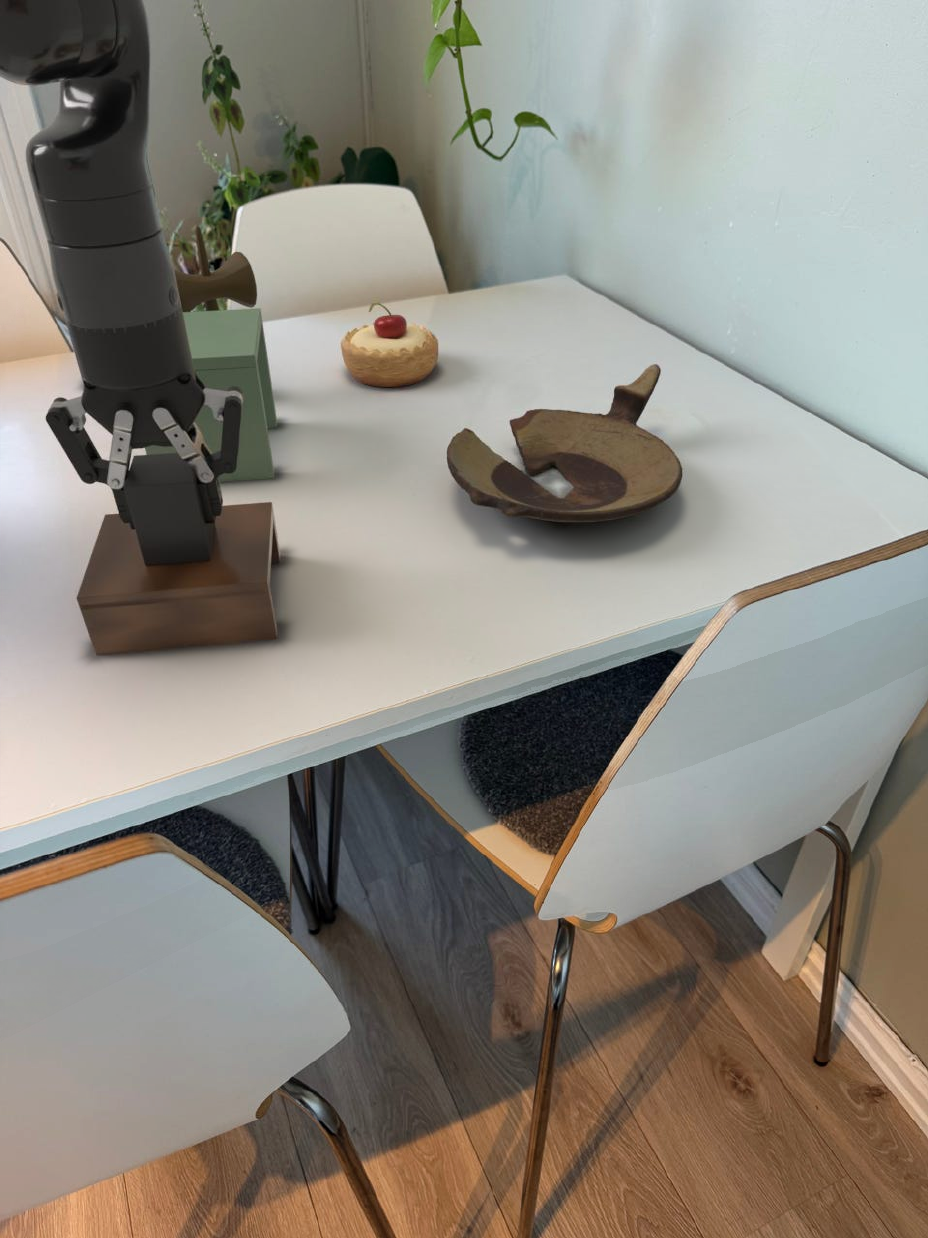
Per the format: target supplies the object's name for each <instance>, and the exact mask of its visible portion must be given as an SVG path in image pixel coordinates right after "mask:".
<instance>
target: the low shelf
mask: <svg viewBox="0 0 928 1238" xmlns="http://www.w3.org/2000/svg"><path fill="white" fill-rule="evenodd" d="M273 506H274V505H273V502H272V501H267V502H254V503H240V504H228V505H222V511H221V515H220V516H216V520H215V532H214V539H213V546H212V552H211V559H210V560H209V561H198V562H185V563H173V564H161V565H149V566H145V563H144V560H143V556H142V553H141V549H140V545H139V542H138V538H137V534H136V531H135V529H133V530H132V529H131V527H130V523H124V522H123V521H122V520H121V518H120V516H119V513H110V514H109V513H108V514H104V516H103V520H102V522H101V525H100V527H99V528H100V529H99V531H98V535H97V537H96V540H95V542H94V546H93V549H92V551H91V554H90V557H89V560H88V563H87V566H86V569H85V572H84V575H83V578H82V580H81V584H80V587H79V590H78V592H77V595H76V601H77V604H78V608H79V610H80V613H81V615H82V619H83V621H84V624H85V627H86V630H87V633H88V636H89V639H90V641H91V644H92V648H93V650H94V653H95V656H103V655H113V654H126V653H133V652H134V653H135V652H136V653H137V652H146V651H157V650H169V649H179V648H180V649H181V648H189V647H190V648H191V647H199V646H200V647H201V646H211V645H212V646H213V645H221V644H223V645H224V644H232V643H233V644H234V643H243V642H255V641H265V640H266V641H267V640H276V639H278V625H277V619H276V613H275V608H274V601H273V595H272V590H271V569H272V564H280V563H281V561H282V560H281V559H282V557H281V556H282V555H281V550H280V543H279V536H278V531H277V530H278V529H277V526H276V524H277V523H276V517H275V512H274V507H273Z"/></svg>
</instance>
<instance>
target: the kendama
mask: <svg viewBox="0 0 928 1238" xmlns="http://www.w3.org/2000/svg"><path fill="white" fill-rule="evenodd" d="M194 232H195V243H196V248H197V256H198V263H199V269H200V273H198V274H190V273H185V272H182V271H180V270H177V269H175V268H174V271H175V276H176V281H177V286H178V291H179V296H180V301H181V306H182V311H183V312H193V310H194V309H195V308H197V307H198V306H200V305H201V304H204V307H205V311H219V310H220V308H219V304H218V300H219V299H227V300H229V301H232V302H233V303H234V302H235V303H237V304H239V305H241V306H244V307H248V308H249V309H253V308H254V307H255V306H256V304H257V301H258V287H257V281H256V276H255V273H254V269H253V267H252V265H251V263H250V261H249V259H248V257H247V256H246V255H245V254H243V253H242V251H234V252H233V253H232V254H231V255H230V256H229V257H228V258H227V259H226V260H225V261H224V262H223V264H222V265H220V267H219V268H217V269H216V270H214V271H211V269H210V263H209V259H208V254H207V251H206V245H205V241H204V237H203V232H202V230H201V227H200V226H199V225H196V226H195V230H194Z"/></svg>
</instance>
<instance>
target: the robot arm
mask: <svg viewBox="0 0 928 1238" xmlns="http://www.w3.org/2000/svg"><path fill="white" fill-rule="evenodd" d="M0 78H2V79H4V80H6V81H8V82H10V83H13V84H16V85H21V86H32V87H34V86H35V87H36V86H43V85H49V84H54V83H59V101H58V102H59V104H58V111H57V115H56V117H55V118H54V120H52V121H51V122H50V123H49V124H47V126H45V127H44V128H42V129H41V130H39V131H38V132H36V134H34V135H33V136H32V137H31V138H30V139H29V141H27V144H26V147H25V163H26V168H27V173H28V177H29V180H30V184H31V188H32V191H33V195H34V199H35V202H36V203H35V204H36V205H37V210H38V213H39V217H40V220H41V224H42V227H43V232H44V234H45V237H46V241H47V246H48V251H49V258H50V265H51V266H50V267H51V270H52V271H51V272H52V277H53V281H54V285H55V290H56V298H57V302H58V306H59V309H60V310H61V312H62V314H63V317H64V321H65V324H66V327H67V331H68V334H69V338H70V341H71V345H72V348H73V352H74V355H75V360H76V363H77V366H78V369H79V373H80V376H81V380H82V383H83V391H82V394H81V395H80V396H77V397H74V398H70V399H67V398H65V397H62V396H61V397H60V396H59V397H56V398H54V400H53V402H52V403H51V404H50V407H49V408H48V410H47V413H46V414H45V421H46V423H47V425H48V427H49V428H50V430H51V431H52V433H53V435H54V436H55V439H56V440H57V442H58V444H59V445H60V447H61V449H62V450H63V452H64V454H65V455H66V457H67V458H68V461H70V464H71V465H72V466H73V468H74V470H75V472H76V473H77V475H78V477H79V479H80V480H81V481H82V482H83V483H85V484H88V485H93V484H95V483H100V484H104V485H106V486H108V487H109V488H110V489H111V491H112V494H113V498H114V501H115V505H116V509H117V513H118V514H119V516H120V518H121V520H122V521H123V522H124V523H130V527H131V529H132V530H133V529H135V527H134V524H133V520H132V516H131V513H130V509H129V506H128V502H127V498H126V495H125V491H124V485H125V481H126V478H127V475H128V472H129V469H130V466H131V461H132V453H133V450H138V449H139V450H140V449H145V447H148V446H151V445H156V446H163V447H170V446H174V448H175V449H176V451H177V452H178V454H179V455H180V457H181V458H182V459H183V460H184V461H186V462H187V463H188V464H189V466H190V467H191V469H192V470H193V472H194V473H195V475H196V476H197V478H198V489H199V494H200V498H201V503H202V507H203V512H204V517H205V521H206V524H208V523H215V520H216V516H220V515H221V511H222V506H224V504H223V503H224V499H223V494H222V488H221V482H219V478H218V477H219V476H220V475H221V474H224V473H227V474H231V473H233V472H235V470H236V467H237V460H238V451H239V440H240V428H241V416H242V405H243V391H242V390H241V389H240V388H239V387H236V386H232V387H230V388H229V389H228V390H227V391H222V390H215V389H209V388H205V386H204V384H203V383H202V381H201V380H200V379H199V378H198V376H197V375H196V373H195V370H194V366H193V361H192V356H191V351H190V346H189V341H188V336H187V331H186V326H185V321H184V316H183V311H182V306H181V301H180V296H179V291H178V286H177V281H176V276H175V271H174V269H175V268H174V263H173V260H172V259H173V258H172V257H171V253H170V250H169V248H168V245H167V242H166V238H165V235H164V232H163V228H162V224H161V218H160V214H159V208H158V204H157V199H156V193H155V188H154V184H153V179H152V175H151V170H150V166H149V162H148V161H149V160H148V144H149V133H150V132H149V131H150V102H151V101H150V100H151V99H150V98H151V97H150V95H151V94H150V92H151V34H150V25H149V20H148V15H147V10H146V5H145V2H144V0H0ZM203 405H206V406H208V407H210V408H211V410H212V412H213V417H214V419H215V420H217V421H219V422H223V430H222V444H221V450H220V451H218V452H216V453H213V454H212V452H211V451H210V449H209V448H208V446H207V444H206V443H205V441H204V439H203V435H202V433H201V431H200V430H199V428H198V426H197V425H196V423H195V422H194V421H195V419H196V418H197V416H198V414H199V412H200V410H201V409H202V407H203ZM86 414H87V415H88V416H90V417H91V418H92V419H93V420H94V421H95V422H97V423H98V424H99V425H100V426H101V427H102V428H104V430H106V431H107V432H108V433H110V435H111V436H112V438H111V444H110V452H109V459H108V460H107V459H104V458H102V456H101V455H100V453H99V451H98V449H97V448H96V446H95V444H94V442H93V441H92V439H91V437H90V435H89V434H88V432H87V430H86V428H85V425H86V423H87V418H86V417H87V416H86Z"/></svg>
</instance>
